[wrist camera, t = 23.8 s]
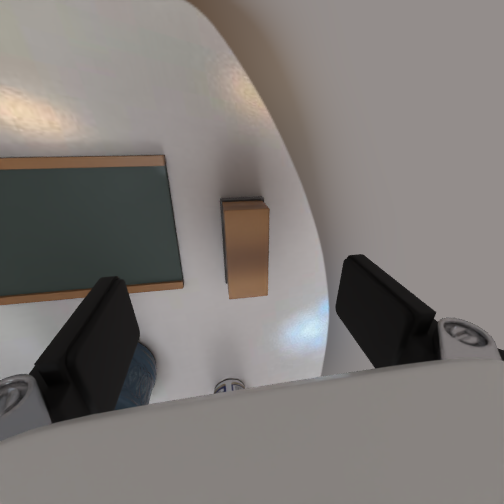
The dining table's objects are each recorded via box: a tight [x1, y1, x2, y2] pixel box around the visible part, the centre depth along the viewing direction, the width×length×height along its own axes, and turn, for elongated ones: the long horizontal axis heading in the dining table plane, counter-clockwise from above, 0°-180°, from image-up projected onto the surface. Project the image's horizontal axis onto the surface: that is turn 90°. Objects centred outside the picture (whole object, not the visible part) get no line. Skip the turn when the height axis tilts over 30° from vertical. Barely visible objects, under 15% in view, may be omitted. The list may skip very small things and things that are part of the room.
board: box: [0, 155, 184, 305], centre depth 27 cm, size 16×22×1 cm
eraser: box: [220, 197, 269, 299], centre depth 28 cm, size 11×5×5 cm, turn 1°
